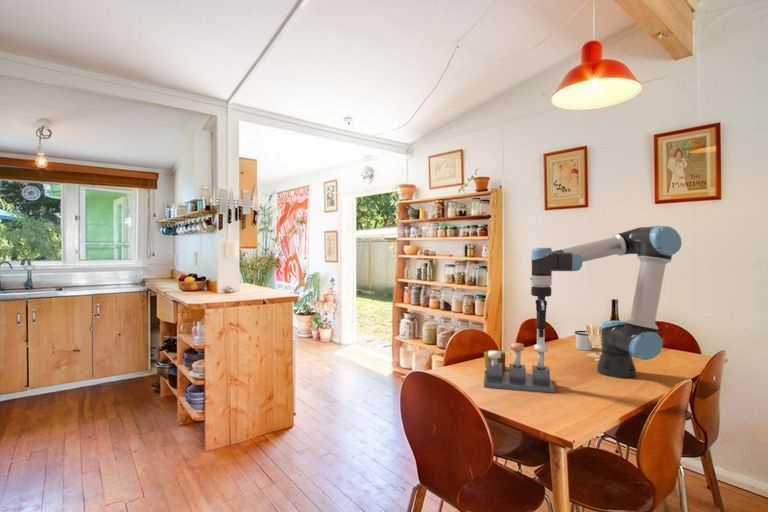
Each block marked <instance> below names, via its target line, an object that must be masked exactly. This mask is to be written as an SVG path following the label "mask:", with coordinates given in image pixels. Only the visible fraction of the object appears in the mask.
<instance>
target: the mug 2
mask: <svg viewBox="0 0 768 512" xmlns="http://www.w3.org/2000/svg"><path fill="white" fill-rule="evenodd" d="M587 331H588V330H587ZM587 331H586V330H575V331H574V334H575V349H576V350H580V351H585V352H588V351H589V352H590V351H592V350H593V349H592V345H591V343H590V340H589V337H588V334H587Z"/></svg>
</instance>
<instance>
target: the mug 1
mask: <svg viewBox="0 0 768 512" xmlns="http://www.w3.org/2000/svg"><path fill="white" fill-rule="evenodd" d="M489 351H494V350H491V349H490V350H486V351H484V353H483V354H484V355H483V357H484V358H483V359H484V364H485V365H484V366H485V368H486V370H487V362H491V363H492V358H489V357H488V352H489ZM498 351H499V352H501V358H499V359H498V363H502V371H506V352H505V351H503V350H498Z"/></svg>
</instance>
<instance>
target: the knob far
mask: <svg viewBox="0 0 768 512" xmlns="http://www.w3.org/2000/svg"><path fill="white" fill-rule="evenodd" d="M488 351H489V352H488V357H489V358H492V366H498V359H499V358H501V352H499V351H500V350H493V351H491V350H488Z"/></svg>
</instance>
